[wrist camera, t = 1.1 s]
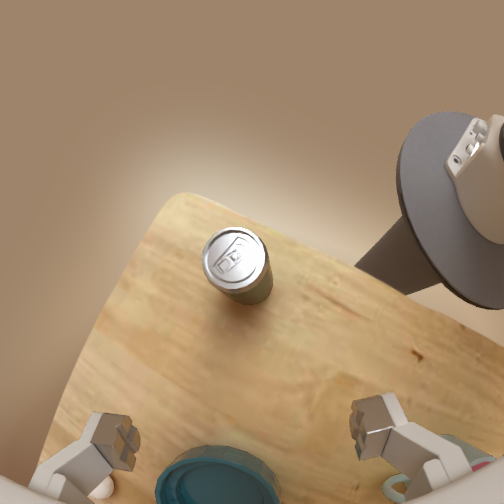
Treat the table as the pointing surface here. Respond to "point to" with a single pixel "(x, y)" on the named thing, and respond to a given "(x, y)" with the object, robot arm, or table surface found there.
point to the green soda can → (238, 265)
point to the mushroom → (103, 489)
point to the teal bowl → (217, 478)
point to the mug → (471, 453)
